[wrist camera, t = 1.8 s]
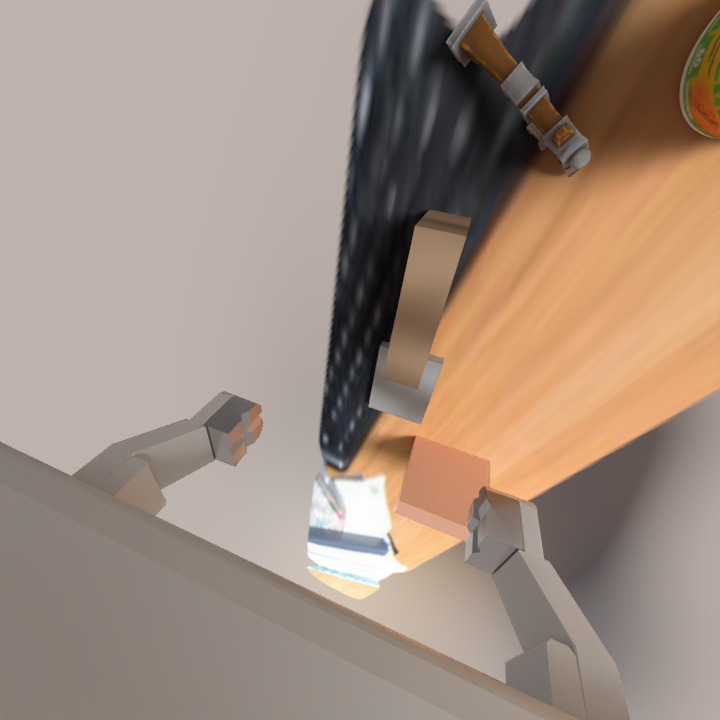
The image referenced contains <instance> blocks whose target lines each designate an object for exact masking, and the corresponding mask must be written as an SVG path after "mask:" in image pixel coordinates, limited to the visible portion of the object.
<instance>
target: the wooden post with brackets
mask: <svg viewBox="0 0 720 720" xmlns="http://www.w3.org/2000/svg"><path fill="white" fill-rule="evenodd" d="M496 26H497V24H496V22H495V19H494V16H493V14H492V11H491V9H490V6H489V4H488V1H487V0H475V1H474V2H473V4H472V6H471V7H470V8H469V10H468V11H467V13H466V14H465V15H464V17H463V18H462V20H461V21H460V23H459V24H458V25H457V27H456V28H455V30H454V31H453V33H452V34H451V35H450V37H449V38H448V40H447V41H446V43H447V44H448V46H449V47H450V49H451V51H452V52H453V54H454V55H455V57H456V58H457V60H458V61H459V62H460V63H462V64H463V65H464V67H466V66H467V64H468V63H469V62H470V60H471V61H473V62H475V63H476V64H478V65H479V66H480V67H481V68H483V69H484V70H485V71H486V72H487V73H489V74H490V75H491V76H492V77H493V78H494V79H496V80H497V81H498V82H499V83H500V84H501V88H502V90H503V92H504V94H505V96H506V97H507V98H509V99H510V100H511V101H512V103H513V104H514V105H515V106H516V108H517V109H518V111H519V113H520V115H521V114H522V116H523V118H524V120H526V122H527V124H528V126H527V127H526V128H527V130H528V132H529V134H532V135H533V136H534V137H535V138H536V139H537V140H538V141H539V143H538V145H539V147H540V150H541V151H543V150H544V149H546V148H548V147H549V148H550V149H551V151H552V153H554V154H555V155H556V156H557V158H558V159H559V160H558V163H559V165H560V166H561V168H562V169H563V170H564V171H565V172H566V174H567V175H568V176H569V177H570V176H571V175H573V174H574V173H575V172H576V171H577V170H579V169H580V168H583V167H584V166H586V165H587V164H588V162H589V161H590V158H591V151H590V150H589V149H588V148H589V145H588V139H587V138H585V137H584V136H583V135H582V134H581V133H580V132H579V131H578V130H577V128H576V127H575V126H574V125H573V124H572V123H571V121H570V120H569V118H568V116H567V115H566V116H565V117H564V118H562V117H561V116H560V114H559V113H558V112H557V110H556V109H555V108H554V107H553V105H552V104H551V103H550V98H549V95H548V91H547V90H546V89H545V88H544V85H543V86H542V87H541V85H540V82H539V80H538V79H536V78H534V77H533V76H532V75H531V73H530V72H529V71H528V70H527V69H526V68H525V66H524V64H523V62H522V61H521V63H520V64H519V65H518V64H517V62H516V61H515V60H514V59H513V58H512V57H511V55H510V54H509V53H508V51H507V50H506V48H505V47H504V45H503V44H502V42H501V41H500V39H499V38H498V36H497V35H496V34H495V32H494V31H493V30H494V29H495V28H496Z"/></svg>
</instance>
